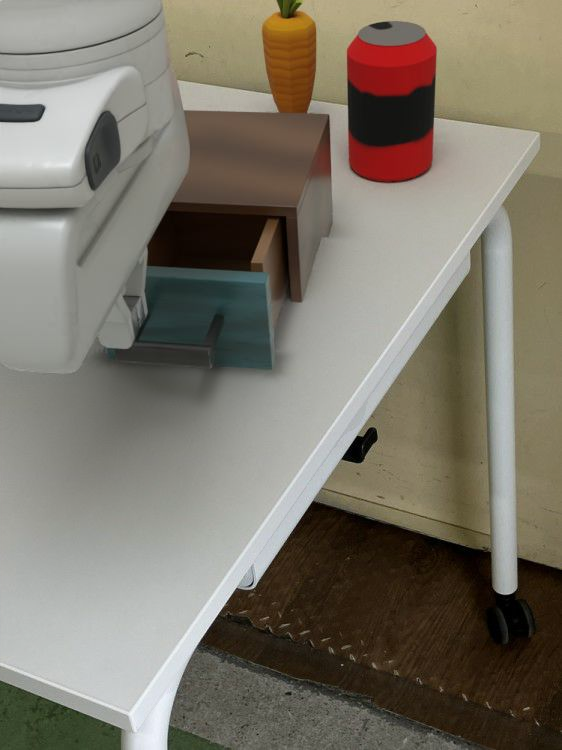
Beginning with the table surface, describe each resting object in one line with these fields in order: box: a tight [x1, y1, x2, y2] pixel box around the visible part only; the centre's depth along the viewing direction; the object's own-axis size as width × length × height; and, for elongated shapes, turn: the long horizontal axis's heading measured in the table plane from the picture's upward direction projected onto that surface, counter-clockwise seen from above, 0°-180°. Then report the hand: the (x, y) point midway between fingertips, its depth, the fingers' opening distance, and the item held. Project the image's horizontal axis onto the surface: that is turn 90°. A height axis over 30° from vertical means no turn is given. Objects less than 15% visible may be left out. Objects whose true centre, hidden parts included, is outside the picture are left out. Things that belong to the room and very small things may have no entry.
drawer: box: [105, 211, 290, 371], centre depth 69 cm, size 18×11×8 cm, turn 169°
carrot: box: [261, 0, 317, 113], centre depth 93 cm, size 5×5×15 cm
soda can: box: [346, 20, 438, 183], centre depth 88 cm, size 8×8×12 cm
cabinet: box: [166, 109, 334, 303], centre depth 77 cm, size 15×13×10 cm
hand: (125, 332), depth 53 cm, fingers closed
